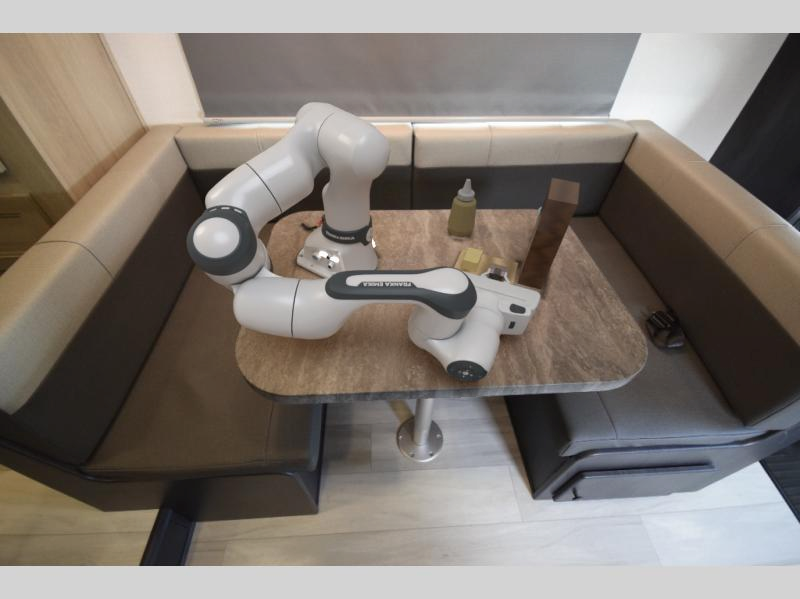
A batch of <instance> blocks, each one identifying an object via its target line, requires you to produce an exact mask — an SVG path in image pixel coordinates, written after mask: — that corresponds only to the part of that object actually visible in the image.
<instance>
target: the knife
mask: <svg viewBox="0 0 800 599" xmlns="http://www.w3.org/2000/svg"><path fill="white" fill-rule="evenodd" d="M490 268H491V269H495V271H494V273H493V277H492V279H493V280H497V281H498V280H499V277H500V274H501V271H502V272H506V273H507V272H508V267H505V266H502V265H498V264H494V263H492V264H491V266H490Z"/></svg>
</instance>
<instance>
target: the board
mask: <svg viewBox="0 0 800 599" xmlns="http://www.w3.org/2000/svg"><path fill="white" fill-rule="evenodd" d="M467 250H468V249H464V248H462V249H461V251H460V253H459V255H458V256H457V260H456V262H455V264H454V266H453V268H457V269H459V270H461V271H464V272H467V273H471V274H475V275H478V276H481V274H483V273H485V272H487V271H488V269H489V268H490V266H491V264H492V263H494V264H498V265H502V266H505V267H508V272H507V278H508V280H509V281H510V284H512V285H514V282H515V278H516V275H517V270H518V268H519V262H516V261H512V260H509V259H505V258H504V259H503V258H500V257H497V256H496V257H495V256H492V255H488V254H484V253H482V257H481V260H480V263H479V265H478V268H477V271H476V272H474V271H470V270H466V269H462V263H463V259H464V257H465V254H466V252H467ZM489 279H490V278H489Z"/></svg>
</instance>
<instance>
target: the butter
mask: <svg viewBox="0 0 800 599" xmlns="http://www.w3.org/2000/svg"><path fill="white" fill-rule="evenodd" d="M466 250H467V252H466V254H465V257H464V259H463V263H462V269H466V270H470V271H474V272H476V271H477V268H478V265H479V263H480V260H481V257H482V254H483V251H484V250H482V249H478V248H474V247H471V246H468V247H467V249H466Z"/></svg>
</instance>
